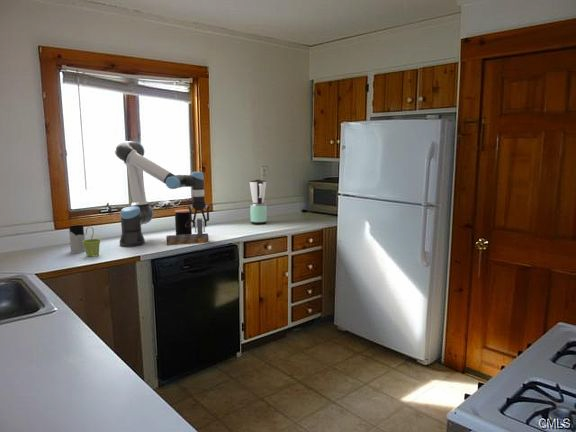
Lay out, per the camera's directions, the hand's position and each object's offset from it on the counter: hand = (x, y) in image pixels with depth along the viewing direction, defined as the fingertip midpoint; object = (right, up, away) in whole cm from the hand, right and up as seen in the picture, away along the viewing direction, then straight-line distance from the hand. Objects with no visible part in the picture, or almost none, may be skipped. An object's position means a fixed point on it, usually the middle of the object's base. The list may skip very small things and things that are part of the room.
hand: (200, 232), depth 282 cm
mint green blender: (+34, +4, +67) cm, 75 cm away
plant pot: (-54, -12, -34) cm, 65 cm away
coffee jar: (-15, -4, +18) cm, 24 cm away
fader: (0, -3, 0) cm, 3 cm away
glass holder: (-65, -10, -22) cm, 70 cm away
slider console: (-8, -6, -1) cm, 10 cm away
